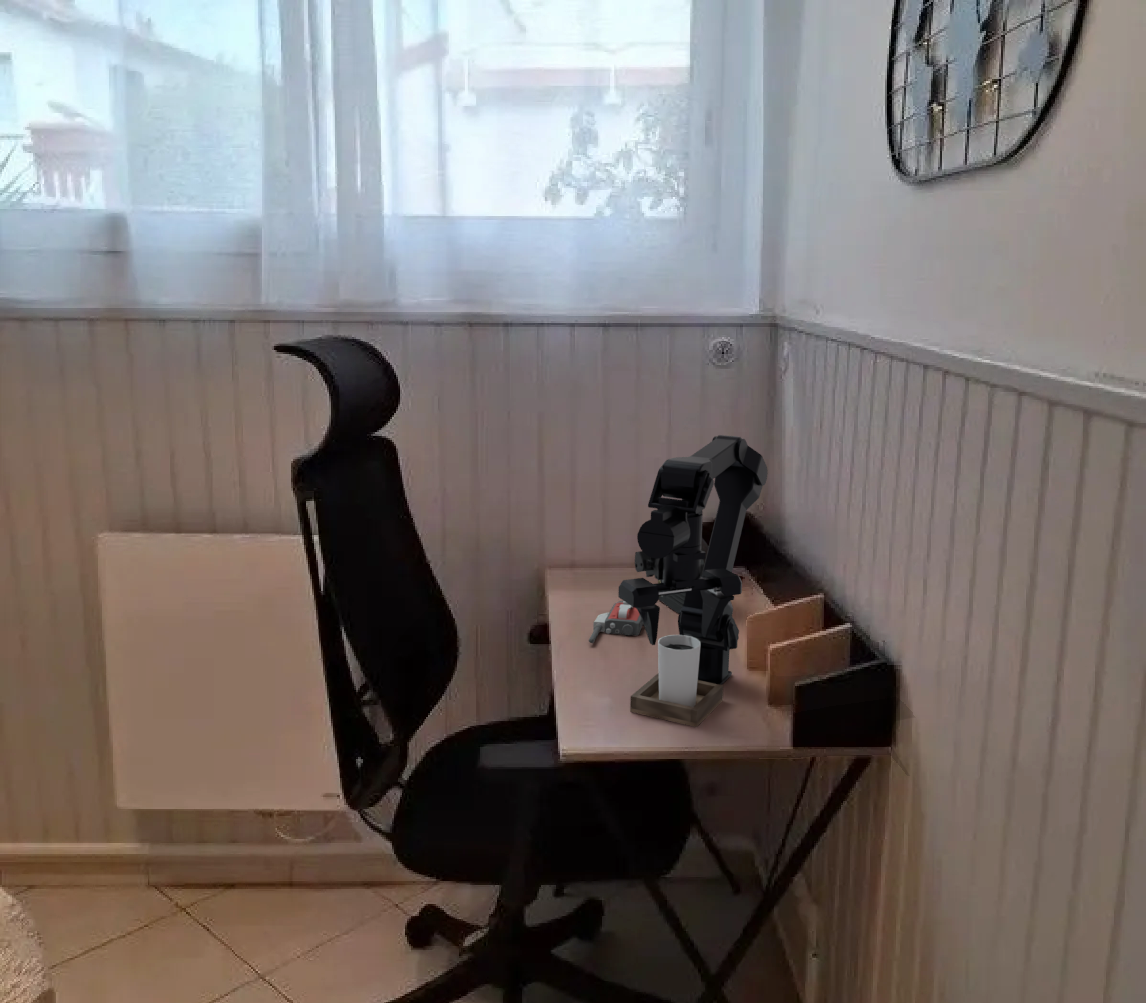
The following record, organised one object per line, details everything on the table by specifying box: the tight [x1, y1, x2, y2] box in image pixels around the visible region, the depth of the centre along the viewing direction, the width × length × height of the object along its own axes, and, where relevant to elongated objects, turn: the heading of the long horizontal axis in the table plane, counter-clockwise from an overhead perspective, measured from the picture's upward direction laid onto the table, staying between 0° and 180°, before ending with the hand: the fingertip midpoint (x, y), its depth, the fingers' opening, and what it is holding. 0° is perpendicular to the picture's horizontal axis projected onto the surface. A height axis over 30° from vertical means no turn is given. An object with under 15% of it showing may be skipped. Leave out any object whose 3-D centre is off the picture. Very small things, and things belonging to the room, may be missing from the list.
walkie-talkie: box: [588, 600, 644, 644], centre depth 198 cm, size 9×4×20 cm
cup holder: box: [629, 672, 724, 728], centre depth 164 cm, size 11×11×3 cm
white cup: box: [657, 634, 701, 707], centre depth 163 cm, size 7×7×10 cm
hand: (678, 640), depth 162 cm, fingers open, 9 cm apart
